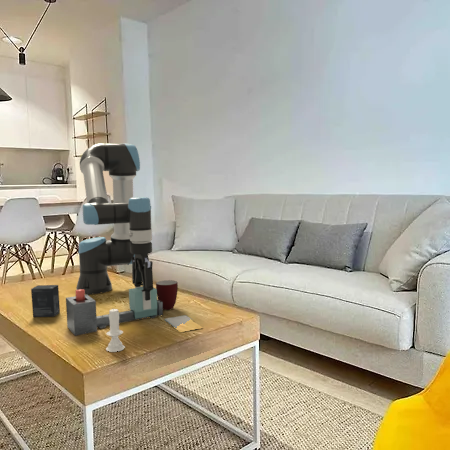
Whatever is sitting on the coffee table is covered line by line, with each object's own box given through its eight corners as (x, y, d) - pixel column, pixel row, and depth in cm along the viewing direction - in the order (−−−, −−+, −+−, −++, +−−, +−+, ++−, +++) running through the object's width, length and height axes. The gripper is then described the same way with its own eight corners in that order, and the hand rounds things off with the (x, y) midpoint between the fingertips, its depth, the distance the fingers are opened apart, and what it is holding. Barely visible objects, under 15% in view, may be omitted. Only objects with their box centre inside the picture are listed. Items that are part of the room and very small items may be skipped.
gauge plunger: (75, 300, 143) (74, 290, 143) (83, 299, 145) (83, 288, 144) (77, 302, 141) (76, 291, 140) (86, 301, 142) (85, 290, 142)
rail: (90, 324, 148) (89, 310, 148) (157, 312, 161) (156, 298, 161) (95, 329, 143) (94, 314, 143) (164, 316, 156) (163, 302, 156)
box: (60, 312, 163) (58, 284, 162) (54, 317, 157) (52, 288, 156) (39, 312, 163) (37, 284, 162) (32, 317, 158) (30, 288, 157)
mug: (155, 314, 159) (154, 287, 158) (147, 308, 166) (146, 282, 165) (181, 309, 164) (181, 283, 163) (173, 304, 171) (172, 279, 170)
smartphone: (180, 332, 138) (163, 318, 151) (180, 335, 138) (163, 321, 152) (204, 327, 142) (186, 314, 155) (204, 330, 142) (186, 317, 155)
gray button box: (67, 327, 146) (65, 297, 145) (88, 323, 150) (87, 294, 149) (74, 335, 138) (73, 304, 137) (97, 331, 141) (95, 301, 140)
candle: (102, 351, 124) (100, 310, 123) (110, 344, 129) (108, 305, 128) (120, 352, 123) (118, 311, 122) (127, 345, 128) (126, 305, 127)
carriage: (129, 315, 155) (128, 289, 155) (150, 311, 160) (149, 285, 159) (136, 319, 150) (135, 292, 150) (157, 315, 155) (156, 289, 154)
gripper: (121, 240, 158) (123, 302, 161) (141, 246, 143) (143, 315, 145) (140, 238, 162) (143, 299, 165) (162, 243, 147) (164, 311, 149)
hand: (143, 306), depth 155 cm, fingers closed on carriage, 6 cm apart
